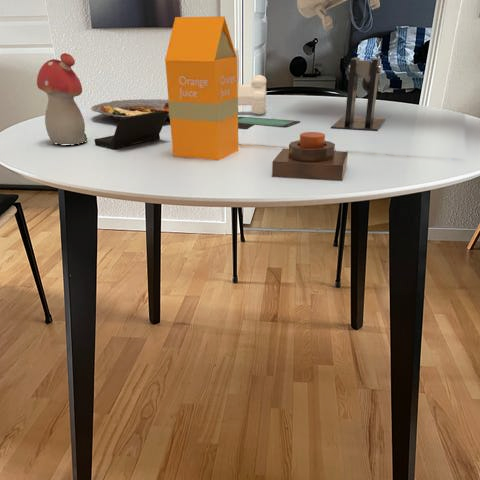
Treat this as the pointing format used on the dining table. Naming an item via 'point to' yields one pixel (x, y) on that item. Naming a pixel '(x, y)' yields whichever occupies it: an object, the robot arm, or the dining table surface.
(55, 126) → the decorative ornament
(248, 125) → the smartphone
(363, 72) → the switch lever
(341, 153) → the button block
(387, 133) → the dining table surface
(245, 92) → the dog bone
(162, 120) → the black angled stand
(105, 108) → the food plate
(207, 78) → the orange juice
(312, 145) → the button
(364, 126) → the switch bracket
